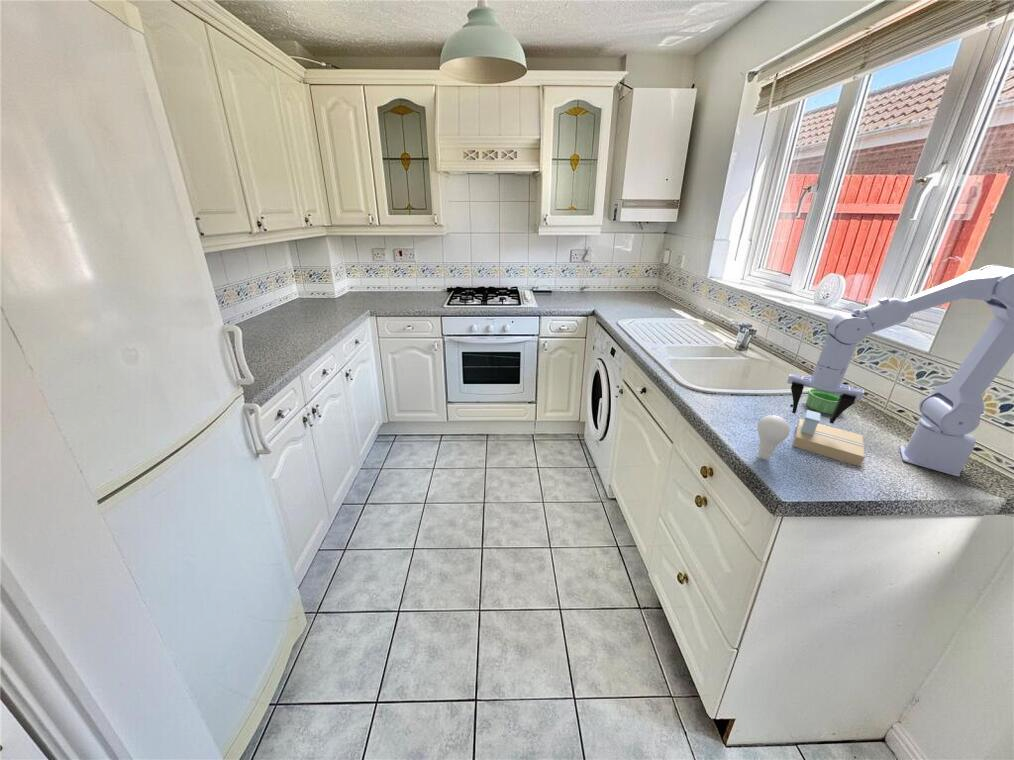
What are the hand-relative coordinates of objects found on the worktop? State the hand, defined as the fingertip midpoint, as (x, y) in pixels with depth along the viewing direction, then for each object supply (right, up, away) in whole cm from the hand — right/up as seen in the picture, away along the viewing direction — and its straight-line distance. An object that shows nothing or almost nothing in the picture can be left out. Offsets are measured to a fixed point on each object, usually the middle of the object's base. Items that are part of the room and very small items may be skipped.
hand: (812, 416), depth 100 cm
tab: (0, -3, +1) cm, 4 cm away
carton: (+3, -7, 0) cm, 8 cm away
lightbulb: (-16, -9, -6) cm, 20 cm away
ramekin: (+17, +1, +19) cm, 26 cm away
